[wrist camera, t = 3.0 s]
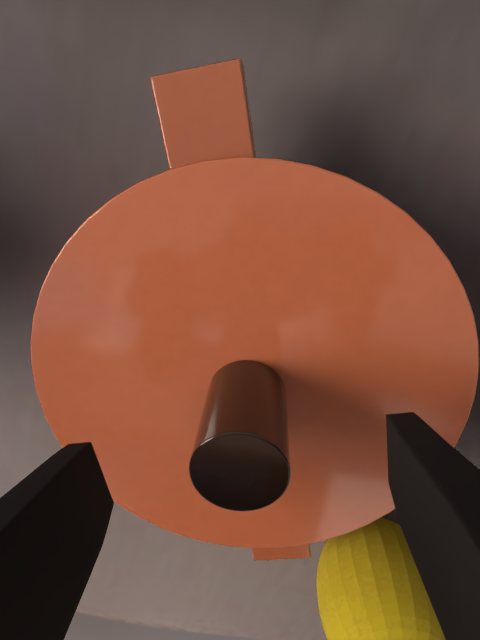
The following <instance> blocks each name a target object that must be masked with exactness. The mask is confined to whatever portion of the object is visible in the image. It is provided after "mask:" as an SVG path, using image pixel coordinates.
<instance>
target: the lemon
mask: <svg viewBox="0 0 480 640" xmlns="http://www.w3.org/2000/svg"><path fill="white" fill-rule="evenodd" d="M317 594H318V605H319V612H320V616H321V621H322V624H323V628H324V631H325V634H326V637H327V640H446V639H445V637H444V634H443V631H442V629H441V626H440V624H439V621H438V619H437V616H436V614H435V612H434V609H433V607H432V604H431V602H430V599H429V597H428V594H427V592H426V589H425V587H424V584H423V582H422V579H421V577H420V574H419V572H418V569H417V567H416V564H415V562H414V559H413V557H412V554H411V552H410V549H409V547H408V544H407V542H406V539H405V537H404V534H403V531H402V529H401V526H400V525H399V524H397V523H395V522H394V521H392V520H388V519H385V518H379V519H377V520H375V521H374V522H372V523H370V524H368V525H366V526H363V527H361V528H359V529H356V530H354V531H351V532H349V533H347V534H344V535H340V536H337V537H334V538H330V539H328V540H327V541H326V543H325V545H324V547H323V550H322V553H321V556H320V560H319V563H318V569H317Z"/></svg>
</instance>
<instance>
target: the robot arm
mask: <svg viewBox="0 0 480 640" xmlns="http://www.w3.org/2000/svg"><path fill="white" fill-rule="evenodd" d="M386 429H387V458H388V483H389V487H390V491H391V494H392V498H393V502H394V505H395V509H396V512H397V516H398V519H399V523H400V526H401V529H402V531H403V534H404V537H405V539H406V542H407V544H408V547H409V549H410V552H411V554H412V557H413V559H414V562H415V564H416V567H417V569H418V572H419V574H420V577H421V579H422V582H423V584H424V587H425V589H426V592H427V594H428V597H429V599H430V602H431V604H432V607H433V609H434V612H435V614H436V616H437V619H438V621H439V624H440V626H441V629H442V631H443V634H444V637H445V639H446V640H480V470H479V469H478V468H477V467H476V466H474V465H473V464H472V463H471V462H470V461H468V460H467V459H466V458H465V457H464V456H463V455H461V454H460V453H459V452H458V451H457V450H456V449H455V448H453V447H452V446H451V445H450V444H449V443H448V442H447V441H446V440H444V439H443V438H442V437H441V436H440V435H439V434H438V433H437V432H436V431H434V430H433V429H432V428H431V427H430V426H429V425H428V424H427V423H426V422H425V421H424V420H422V419H421V418H420V417H419V416H418V415H417V414H415V413H414V412H408V413H397V414H386ZM113 504H114V502H113V499H112V496H111V494H110V491H109V488H108V486H107V483H106V480H105V478H104V475H103V472H102V470H101V467H100V464H99V461H98V459H97V456H96V453H95V451H94V448H93V445H92V443H91V442H83V443H72V444H68V445H66V446H65V447H63V448H62V449H61V450H59V451H58V452H57V453H55V454H54V455H53V456H51V457H50V458H49V459H48V460H46V461H45V462H44V463H43V464H41V465H40V466H39V467H38V468H37V469H35V470H34V471H33V472H32V473H30V474H29V475H28V476H27V477H26V478H24V479H23V480H22V481H21V482H20V483H18V484H17V485H16V486H15V487H13V488H12V489H11V490H10V491H9V492H7V493H6V494H5V495H4V496H2V497H1V498H0V640H64V638H65V635H66V633H67V630H68V628H69V625H70V623H71V621H72V618H73V616H74V613H75V611H76V609H77V606H78V604H79V601H80V599H81V596H82V594H83V592H84V589H85V587H86V584H87V582H88V580H89V577H90V575H91V572H92V570H93V567H94V565H95V562H96V560H97V557H98V555H99V552H100V550H101V547H102V544H103V541H104V538H105V534H106V531H107V527H108V524H109V520H110V516H111V512H112V508H113Z"/></svg>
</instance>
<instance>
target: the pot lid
mask: <svg viewBox="0 0 480 640" xmlns="http://www.w3.org/2000/svg"><path fill="white" fill-rule="evenodd" d="M31 362H32V371H33V376H34V382H35V387H36V392H37V395H38V398H39V401H40V404H41V407H42V410H43V413H44V415H45V417H46V419H47V421H48V423H49V425H50V427H51V429H52V431H53V433H54V435H55V437H56V439H57V440H58V442H59V443H60V445H61V446H62V448H63V447H65V446H66V445H68V444H72V443H83V442H91V443H92V445H93V448H94V451H95V453H96V456H97V459H98V461H99V464H100V467H101V470H102V472H103V475H104V478H105V480H106V483H107V486H108V488H109V491H110V494H111V496H112V499H113V500H114V501H115V502H116V503H117V504H119V505H120V506H122V507H124V508H125V509H127V510H128V511H130V512H132V513H133V514H135V515H136V516H138V517H140V518H142V519H144V520H146V521H148V522H150V523H152V524H154V525H156V526H158V527H161V528H163V529H166V530H168V531H171V532H174V533H176V534H179V535H182V536H185V537H189V538H192V539H196V540H200V541H203V542H208V543H214V544H219V545H225V546H234V547H245V548H279V547H289V546H299V545H304V544H309V543H314V542H319V541H324V540H327V539H330V538H334V537H337V536H340V535H344V534H347V533H349V532H351V531H354V530H356V529H359V528H361V527H363V526H366V525H368V524H370V523H372V522H374V521H375V520H377V519H379V518H381V517H383V516H385V515H386V514H388V513H390V512H391V511H393V510H394V509H395V505H394V502H393V498H392V494H391V491H390V487H389V483H388V458H387V429H386V414H397V413H408V412H414V413H415V414H417V415H418V416H419V417H420V418H421V419H422V420H424V421H425V422H426V423H427V424H428V425H429V426H430V427H431V428H432V429H433V430H434V431H436V432H437V433H438V434H439V435H440V436H441V437H442V438H443V439H444V440H446V441H447V442H448V443H449V444H450V445H451V446H452V447H453V448H454V447H455V446H456V444H457V442H458V440H459V438H460V436H461V434H462V432H463V430H464V428H465V426H466V423H467V421H468V419H469V415H470V412H471V409H472V405H473V402H474V399H475V395H476V388H477V381H478V374H479V341H478V335H477V330H476V324H475V318H474V313H473V311H472V308H471V305H470V302H469V299H468V296H467V294H466V291H465V288H464V286H463V284H462V282H461V280H460V278H459V276H458V275H457V273H456V271H455V269H454V267H453V265H452V264H451V262H450V260H449V259H448V257H447V256H446V255H445V253H444V252H443V251H442V249H441V248H440V247H439V246H438V244H437V243H436V242H435V240H434V239H433V238H432V236H431V235H430V234H429V233H428V232H427V231H426V230H425V229H424V228H423V227H422V226H420V225H419V224H418V223H417V222H416V221H415V220H414V219H413V218H412V217H411V216H410V215H409V214H408V213H407V212H406V211H404V210H403V209H401V208H400V207H399V206H397V205H396V204H394V203H393V202H391V201H390V200H389V199H387V198H386V197H384V196H383V195H381V194H380V193H379V192H377V191H375V190H373V189H371V188H369V187H367V186H365V185H363V184H361V183H359V182H357V181H355V180H353V179H351V178H349V177H347V176H345V175H342V174H339V173H336V172H333V171H330V170H327V169H324V168H321V167H318V166H315V165H312V164H307V163H302V162H296V161H291V160H285V159H280V158H266V157H232V158H222V159H213V160H205V161H201V162H197V163H193V164H189V165H185V166H181V167H177V168H173V169H170V170H167V171H165V172H163V173H160V174H158V175H155V176H153V177H150V178H148V179H145V180H143V181H141V182H138V183H137V184H135V185H133V186H132V187H130V188H128V189H127V190H125V191H123V192H122V193H120V194H118V195H117V196H115V197H113V198H112V199H110V200H109V201H108V202H107V203H105V204H104V205H103V206H102V207H100V208H99V209H98V210H97V211H96V212H94V213H93V214H92V215H91V216H90V217H88V218H87V219H86V220H85V221H84V222H83V224H82V225H81V226H80V227H79V228H78V229H77V230H76V231H75V233H74V234H73V235H72V236H71V237H70V238H69V239H68V240H67V242H66V243H65V245H64V246H63V248H62V249H61V251H60V253H59V254H58V256H57V257H56V259H55V260H54V262H53V263H52V265H51V267H50V269H49V272H48V274H47V276H46V278H45V281H44V283H43V285H42V287H41V290H40V293H39V297H38V301H37V305H36V308H35V312H34V316H33V324H32V334H31Z"/></svg>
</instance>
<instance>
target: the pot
mask: <svg viewBox="0 0 480 640" xmlns="http://www.w3.org/2000/svg"><path fill="white" fill-rule="evenodd" d="M151 85H152V90H153V94H154V99H155V103H156V108H157V113H158V117H159V122H160V127H161V131H162V136H163V141H164V145H165V150H166V155H167V159H168V164H169V169H173V168H177V167H181V166H185V165H189V164H193V163H197V162H201V161H205V160H213V159H222V158H232V157H256V152H255V145H254V137H253V130H252V123H251V116H250V109H249V101H248V94H247V87H246V80H245V72H244V66H243V64H242V61H241V59H234V60H229V61H224V62H219V63H214V64H209V65H204V66H200V67H195V68H190V69H185V70H180V71H175V72H170V73H165V74H160V75H156V76H152V77H151ZM251 550H252V554H253V559H254V560H255V561H256V560H276V559H296V558H310V557H311V553H310V543H309V544H304V545H299V546H289V547H279V548H251Z"/></svg>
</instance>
